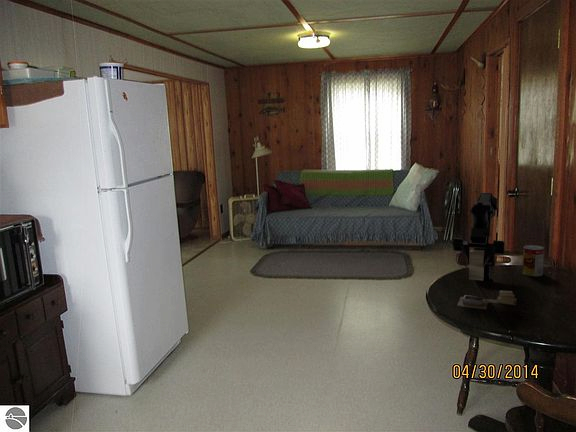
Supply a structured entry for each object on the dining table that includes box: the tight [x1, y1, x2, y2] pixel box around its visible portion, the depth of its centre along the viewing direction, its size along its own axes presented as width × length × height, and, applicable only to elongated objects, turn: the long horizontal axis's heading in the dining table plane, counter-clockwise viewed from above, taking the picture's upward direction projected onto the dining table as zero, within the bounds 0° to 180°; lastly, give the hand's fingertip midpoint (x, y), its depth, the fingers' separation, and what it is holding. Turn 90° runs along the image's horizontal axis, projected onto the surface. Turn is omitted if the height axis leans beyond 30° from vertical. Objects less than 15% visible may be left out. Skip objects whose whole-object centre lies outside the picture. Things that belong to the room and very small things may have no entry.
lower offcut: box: [498, 294, 514, 305], centre depth 174 cm, size 6×5×2 cm
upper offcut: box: [498, 290, 515, 300], centre depth 174 cm, size 5×4×2 cm
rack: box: [456, 294, 517, 310], centre depth 174 cm, size 14×19×3 cm
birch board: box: [468, 249, 484, 281], centre depth 179 cm, size 3×5×11 cm, turn 62°
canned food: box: [522, 244, 545, 277], centre depth 204 cm, size 8×8×12 cm
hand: (476, 264), depth 178 cm, fingers closed on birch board, 5 cm apart
